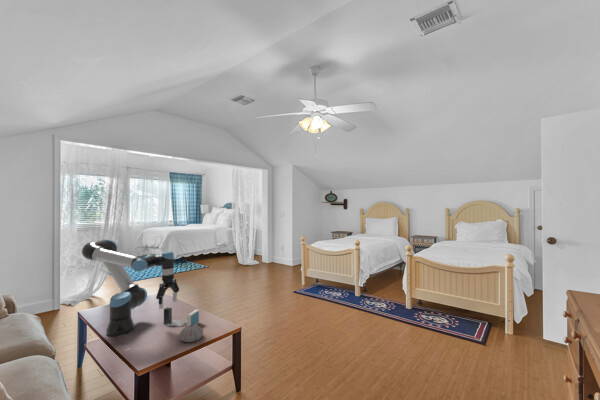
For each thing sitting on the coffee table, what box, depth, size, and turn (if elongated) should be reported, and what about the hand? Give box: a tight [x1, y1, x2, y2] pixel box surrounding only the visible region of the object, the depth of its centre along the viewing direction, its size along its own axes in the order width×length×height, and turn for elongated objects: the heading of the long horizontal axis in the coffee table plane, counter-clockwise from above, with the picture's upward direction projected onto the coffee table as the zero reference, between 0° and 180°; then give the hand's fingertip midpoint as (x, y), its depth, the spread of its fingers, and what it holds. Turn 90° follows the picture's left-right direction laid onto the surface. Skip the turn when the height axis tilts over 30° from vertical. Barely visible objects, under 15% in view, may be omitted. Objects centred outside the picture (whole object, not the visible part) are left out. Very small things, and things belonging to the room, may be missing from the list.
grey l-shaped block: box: [163, 307, 187, 328], centre depth 190 cm, size 7×15×10 cm, turn 77°
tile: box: [186, 309, 200, 327], centre depth 186 cm, size 10×3×9 cm, turn 167°
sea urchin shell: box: [179, 324, 204, 343], centre depth 168 cm, size 13×14×8 cm
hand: (168, 305), depth 191 cm, fingers open, 13 cm apart
